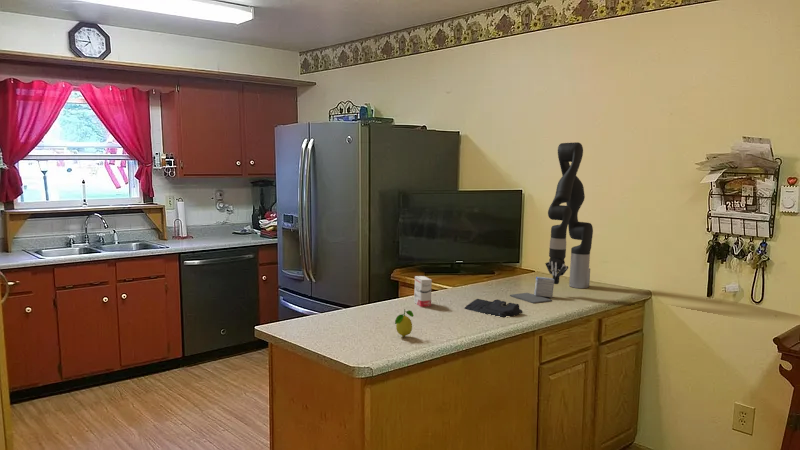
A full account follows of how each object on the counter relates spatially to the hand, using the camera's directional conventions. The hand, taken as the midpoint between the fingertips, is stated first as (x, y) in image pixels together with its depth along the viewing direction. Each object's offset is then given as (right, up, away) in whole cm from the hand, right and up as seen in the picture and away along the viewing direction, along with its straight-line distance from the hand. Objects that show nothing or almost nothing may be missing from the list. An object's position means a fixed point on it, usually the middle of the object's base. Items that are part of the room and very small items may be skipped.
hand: (555, 283), depth 272 cm
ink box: (-64, -7, -24) cm, 68 cm away
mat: (-14, -6, -7) cm, 16 cm away
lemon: (-72, -12, -71) cm, 102 cm away
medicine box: (-7, -6, -3) cm, 9 cm away
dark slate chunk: (-34, -9, -30) cm, 47 cm away
